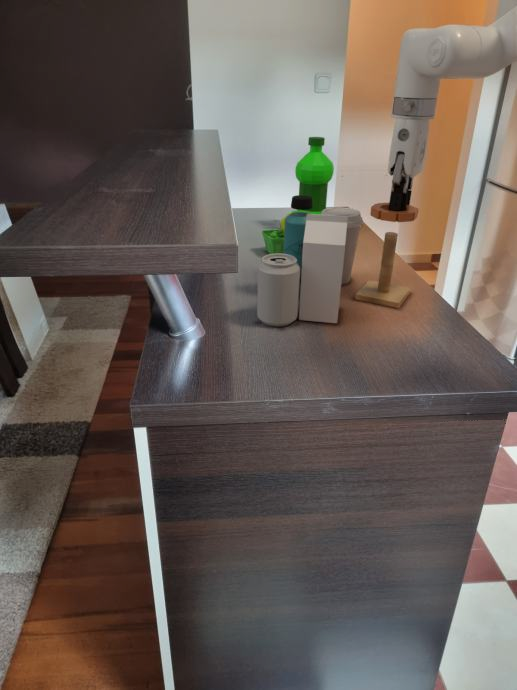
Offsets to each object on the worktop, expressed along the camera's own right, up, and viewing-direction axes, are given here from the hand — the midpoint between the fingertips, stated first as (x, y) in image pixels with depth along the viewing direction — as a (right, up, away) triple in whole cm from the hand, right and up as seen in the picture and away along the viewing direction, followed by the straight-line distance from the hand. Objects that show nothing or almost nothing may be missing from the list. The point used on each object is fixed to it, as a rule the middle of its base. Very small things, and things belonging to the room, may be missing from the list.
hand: (398, 210), depth 101 cm
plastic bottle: (-12, +7, +47) cm, 49 cm away
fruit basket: (-20, -3, +29) cm, 35 cm away
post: (-2, -16, +5) cm, 17 cm away
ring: (-2, -2, -2) cm, 3 cm away
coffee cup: (-10, -12, +13) cm, 21 cm away
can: (-24, -22, -5) cm, 33 cm away
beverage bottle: (-20, -16, +6) cm, 26 cm away
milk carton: (-16, -21, -3) cm, 26 cm away
